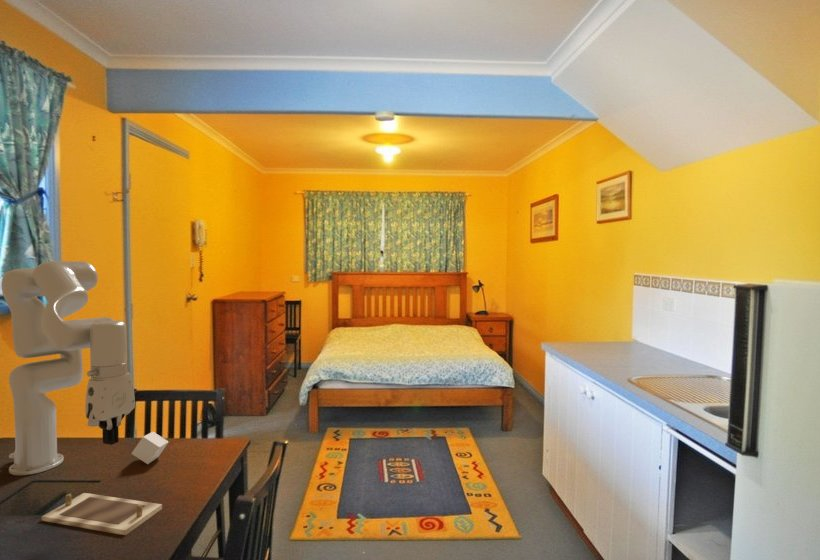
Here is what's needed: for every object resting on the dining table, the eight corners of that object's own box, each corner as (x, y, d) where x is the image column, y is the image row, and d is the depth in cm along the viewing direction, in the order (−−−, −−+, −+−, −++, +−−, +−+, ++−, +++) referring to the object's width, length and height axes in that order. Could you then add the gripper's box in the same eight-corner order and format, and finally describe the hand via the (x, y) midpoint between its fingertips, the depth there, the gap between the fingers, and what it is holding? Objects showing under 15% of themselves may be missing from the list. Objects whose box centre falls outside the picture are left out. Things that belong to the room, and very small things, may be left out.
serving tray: (41, 521, 106) (41, 506, 106) (84, 497, 117) (83, 483, 116) (125, 535, 101) (125, 519, 101) (162, 508, 112) (161, 494, 111)
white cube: (141, 447, 140) (153, 431, 140) (157, 458, 140) (168, 441, 140) (131, 453, 134) (143, 436, 134) (147, 464, 134) (159, 447, 135)
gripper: (91, 379, 101) (93, 457, 102) (146, 365, 115) (147, 433, 116) (67, 377, 103) (69, 453, 104) (124, 362, 117) (125, 430, 118)
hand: (110, 442), depth 110 cm, fingers closed
